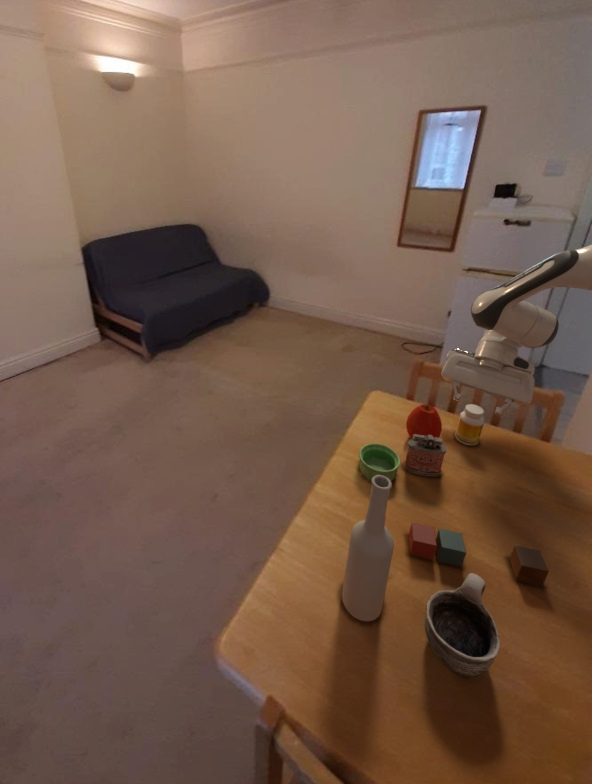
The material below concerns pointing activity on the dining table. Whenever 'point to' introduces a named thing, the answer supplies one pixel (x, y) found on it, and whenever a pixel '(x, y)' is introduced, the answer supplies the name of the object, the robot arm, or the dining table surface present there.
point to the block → (450, 547)
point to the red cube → (422, 541)
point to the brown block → (528, 565)
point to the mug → (462, 628)
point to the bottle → (369, 557)
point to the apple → (424, 421)
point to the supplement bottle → (470, 425)
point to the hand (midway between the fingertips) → (476, 407)
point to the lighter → (425, 455)
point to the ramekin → (378, 461)
